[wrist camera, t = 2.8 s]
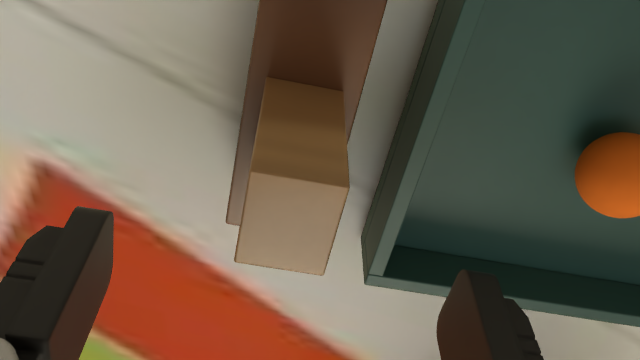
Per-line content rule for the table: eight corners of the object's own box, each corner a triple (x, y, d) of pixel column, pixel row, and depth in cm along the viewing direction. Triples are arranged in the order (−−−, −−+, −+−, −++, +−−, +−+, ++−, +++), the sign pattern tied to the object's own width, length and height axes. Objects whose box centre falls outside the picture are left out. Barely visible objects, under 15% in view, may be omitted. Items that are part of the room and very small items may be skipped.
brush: (271, -56, 19) (243, 44, 12) (379, -32, 19) (409, 77, 12) (235, 175, 24) (201, 335, 17) (321, 191, 24) (321, 351, 18)
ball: (585, 109, 21) (620, 155, 18) (663, 124, 21) (707, 172, 19) (549, 177, 23) (577, 228, 20) (622, 190, 23) (657, 242, 21)
